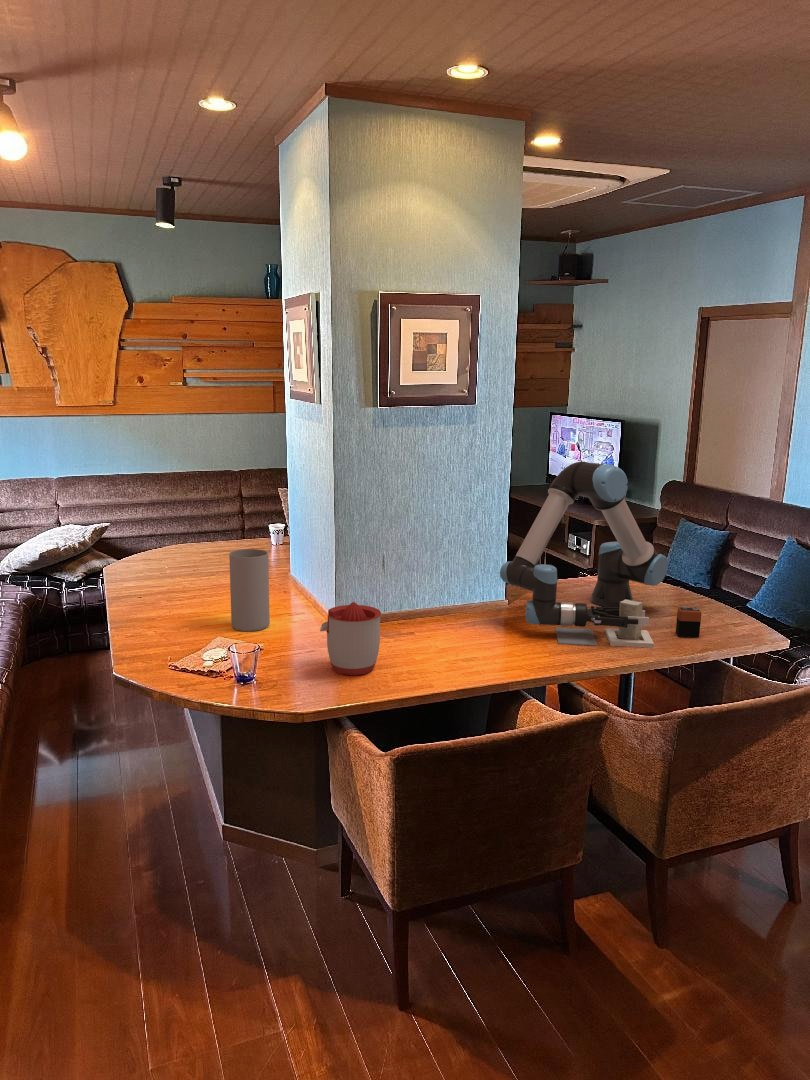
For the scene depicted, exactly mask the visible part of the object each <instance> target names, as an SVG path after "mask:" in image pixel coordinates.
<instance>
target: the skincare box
mask: <svg viewBox="0 0 810 1080" xmlns="http://www.w3.org/2000/svg"><path fill="white" fill-rule="evenodd" d="M643 605H644V602H642V601H636V600H633V601H632V600H627V599H625V600H623V601H621V602H620V608H619V616H621V617H627V618H628V616H634V617H642V610H643ZM622 622H623V621H622ZM618 629H619V630H618V636H617V639H624V640H641V630H642V626H637V625H627V628H625V627H618Z"/></svg>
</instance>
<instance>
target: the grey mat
mask: <svg viewBox="0 0 810 1080" xmlns="http://www.w3.org/2000/svg"><path fill="white" fill-rule="evenodd" d="M554 630H555V633H556V634H557V635H556V634H555V635H556V638H557V644H558V645H563V644H569V645H568V646H581V645H590V646H589V647H597V646H598V645H597V644H598V643H597V640H596V637H595V634H594V632H593V629H592V628H578V627H558V626H557V627H555V628H554Z"/></svg>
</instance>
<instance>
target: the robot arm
mask: <svg viewBox="0 0 810 1080" xmlns="http://www.w3.org/2000/svg"><path fill="white" fill-rule="evenodd" d="M628 481H629V480H628V478H627V475H626V473H625V472H624V470H622V468H620V467H618V466H615V465H612V464H608V463H606V464H602V463H596V462H587V461H577V462H573V463H571V464H569V465H567V466H565V468H563V470H561V471H560V472H559V473H558V474H557V475H556V477H555V478H554V480H552V482H551V484H550V485H549V488H548V489H547V494H548V496H547V497H546V499H545V501H544V503H543V505H542V506H541V509H540V510H539V512H538V514H537V516H536V517H535V519H534V521H533V523H532V525H531V527H530V529H529V531H528V532H527V535H526V536H525V538H524V539H523V541H522V543H521V546H520V547H519V548H518V551H517V552H516V555H515V556H514V558H513V560H512V561H511V560H510V561H506V562H505V563H503V564H502V566H501V567H500V571H499V574H500V575H499V576H500V579H501V580H502V581H503V582H504V583H506V584H508V585H510V586H513V587H516V588H521V589H523V590H526V591H530V592H532V599H531V600H528V601H526V603H525V604H526V605H525V621H526V622H527V624H530V625H531V624H533V625H539V626H541V625H542V626H543V625H545V626H562V628H566V626H568V627H571V626H574V627H583V628H584V627H586V626H587V622H590V623H593V625H594V626H605V627H616V628H619V627H625V628H627V625H637V626H641V627H649V626H650V625H649V623H650V622H649V621H650V617H648V616H646V610H644V609H642V617H634V616H628V618H627V617H621V616H619V608H620V602H621V601H623V600H625V599H627V600H632V601H634V600H633V599H634V597H633V594H632V590H631V585H630V581H632V582H635V583H639V584H642V585H645V586H652V587H656V586H657V585H659V584H660V583H661V582H663V580H664V579H665V577H666V575H667V572H668V568H669V562H668V558H667V557H666V555H664V554H662V553H658V552H657V550H656V549H655V547H654V546H653V544H652V543H651V542H649V541H646V539H645V537H644V535H643V533H642V532H641V531H642V530H641V529H640V528H639V526H638V523H637V521H636V520H635V518H634V516H633V514H632V512H631V510H630V507H629V506H628V504H627V501H626V495H627V493H628V489H629V486H628V485H627V484H628V483H629V482H628ZM578 497H583V498H588V499H589V501H590V502H591V504H592V506H593V507H594V509H595V510H597V511H601V513H602V515H603V517H604V519H605V521H606V523H607V525H608V526H609V528H610V531H611V532H612V534H613V535H614V537H615V539H616V541H609V542H604V543H603V542H602V543H601V545H599V549H598V550H599V551H598V554H597V555H598V561H597V563H598V564H597V578H596V579H597V581H596V583H595V586H594V588H593V590H592V592H591V596H590V601H591V602H592V603H593V604H594V605H590V608H588V606H587V603H584V602H583V603H582V602H581V603H580V602H579V603H578V602H576V603H574V602H566V601H565V602H560V601H559V602H558V601H557V590H558V589H557V586H558V585H557V584H558V569H557V567H555V566H554V565H552V564H545V563H544V564H542V563H541V564H538V563H539V560H540V559H541V557H542V555H543V553H544V551H545V549H546V547H547V546H548V543H549V542H550V540H551V538H552V536H553V534H554V532H555V531H556V529H557V527H558V525H559V523H560V522H561V521H562V518H563V516H564V514H565V512H566V510H567V509H568V507H569V505H573V504H574V502H575V501H576V498H578ZM596 605H597V606H596ZM622 621H623V622H622Z"/></svg>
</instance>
